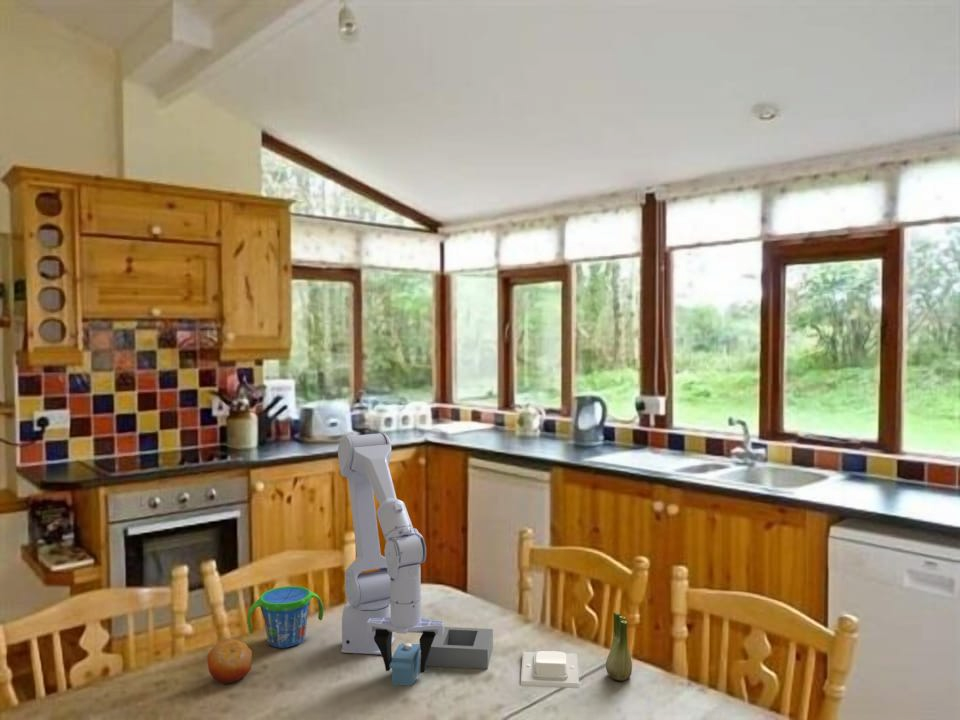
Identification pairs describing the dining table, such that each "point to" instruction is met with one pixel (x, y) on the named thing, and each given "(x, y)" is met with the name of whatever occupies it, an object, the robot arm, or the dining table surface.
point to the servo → (405, 664)
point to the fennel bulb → (619, 651)
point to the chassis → (462, 648)
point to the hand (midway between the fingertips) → (406, 669)
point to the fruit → (229, 661)
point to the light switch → (549, 669)
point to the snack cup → (285, 614)
